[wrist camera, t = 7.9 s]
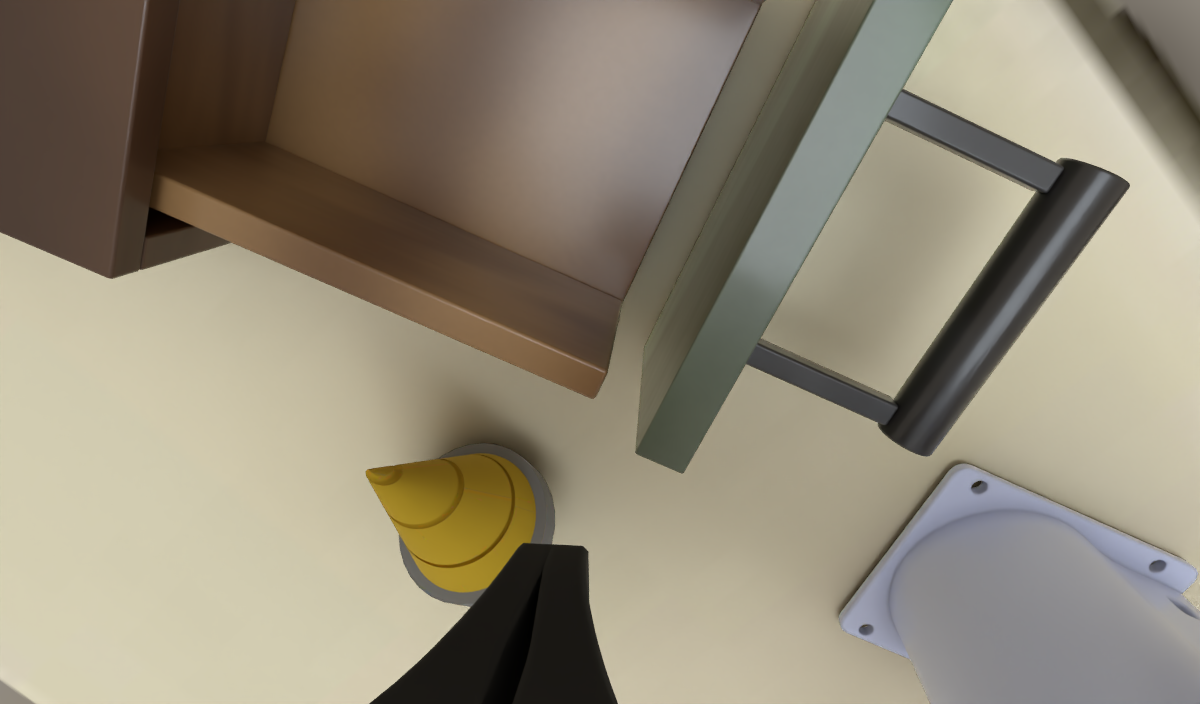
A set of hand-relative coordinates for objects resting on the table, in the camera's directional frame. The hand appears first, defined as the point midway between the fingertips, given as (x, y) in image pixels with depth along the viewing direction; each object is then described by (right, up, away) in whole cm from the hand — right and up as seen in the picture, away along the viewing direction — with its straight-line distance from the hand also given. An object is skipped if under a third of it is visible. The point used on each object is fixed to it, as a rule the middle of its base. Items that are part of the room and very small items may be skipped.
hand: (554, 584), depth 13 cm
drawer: (+2, +11, +5) cm, 12 cm away
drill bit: (-4, +1, +11) cm, 12 cm away
